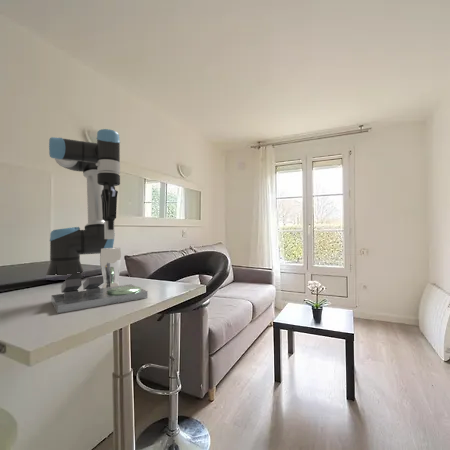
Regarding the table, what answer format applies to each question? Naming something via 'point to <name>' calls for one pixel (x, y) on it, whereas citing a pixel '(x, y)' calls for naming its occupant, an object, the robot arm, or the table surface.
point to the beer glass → (110, 266)
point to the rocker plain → (93, 282)
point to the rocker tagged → (71, 285)
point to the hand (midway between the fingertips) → (109, 238)
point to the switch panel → (96, 297)
